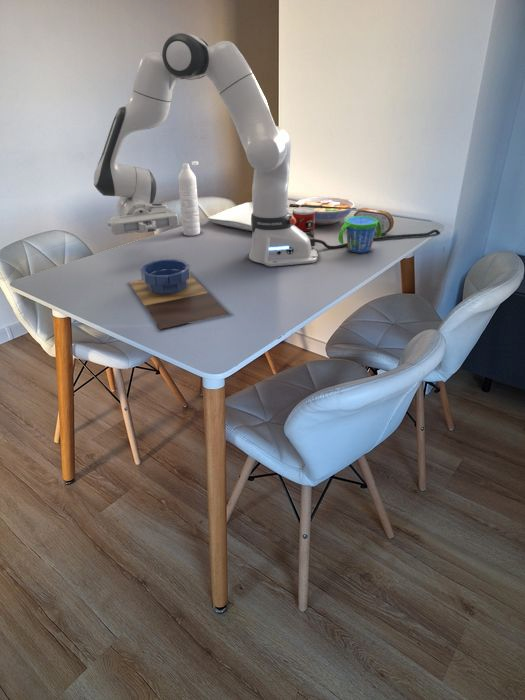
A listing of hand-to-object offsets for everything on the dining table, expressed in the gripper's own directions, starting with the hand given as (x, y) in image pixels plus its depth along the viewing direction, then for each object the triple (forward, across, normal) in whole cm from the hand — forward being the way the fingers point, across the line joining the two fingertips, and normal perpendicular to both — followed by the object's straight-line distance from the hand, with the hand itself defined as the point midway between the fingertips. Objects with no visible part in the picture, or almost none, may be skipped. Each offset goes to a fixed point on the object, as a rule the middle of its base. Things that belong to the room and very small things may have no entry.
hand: (151, 229), depth 147 cm
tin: (-5, +83, +14) cm, 84 cm away
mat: (+27, 0, +14) cm, 31 cm away
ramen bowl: (-24, +74, +14) cm, 79 cm away
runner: (+11, 0, +14) cm, 18 cm away
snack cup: (+9, +67, +14) cm, 69 cm away
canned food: (-9, +56, +14) cm, 58 cm away
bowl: (+11, 0, +14) cm, 18 cm away
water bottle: (-36, +24, +15) cm, 46 cm away
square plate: (-38, +50, +14) cm, 64 cm away
